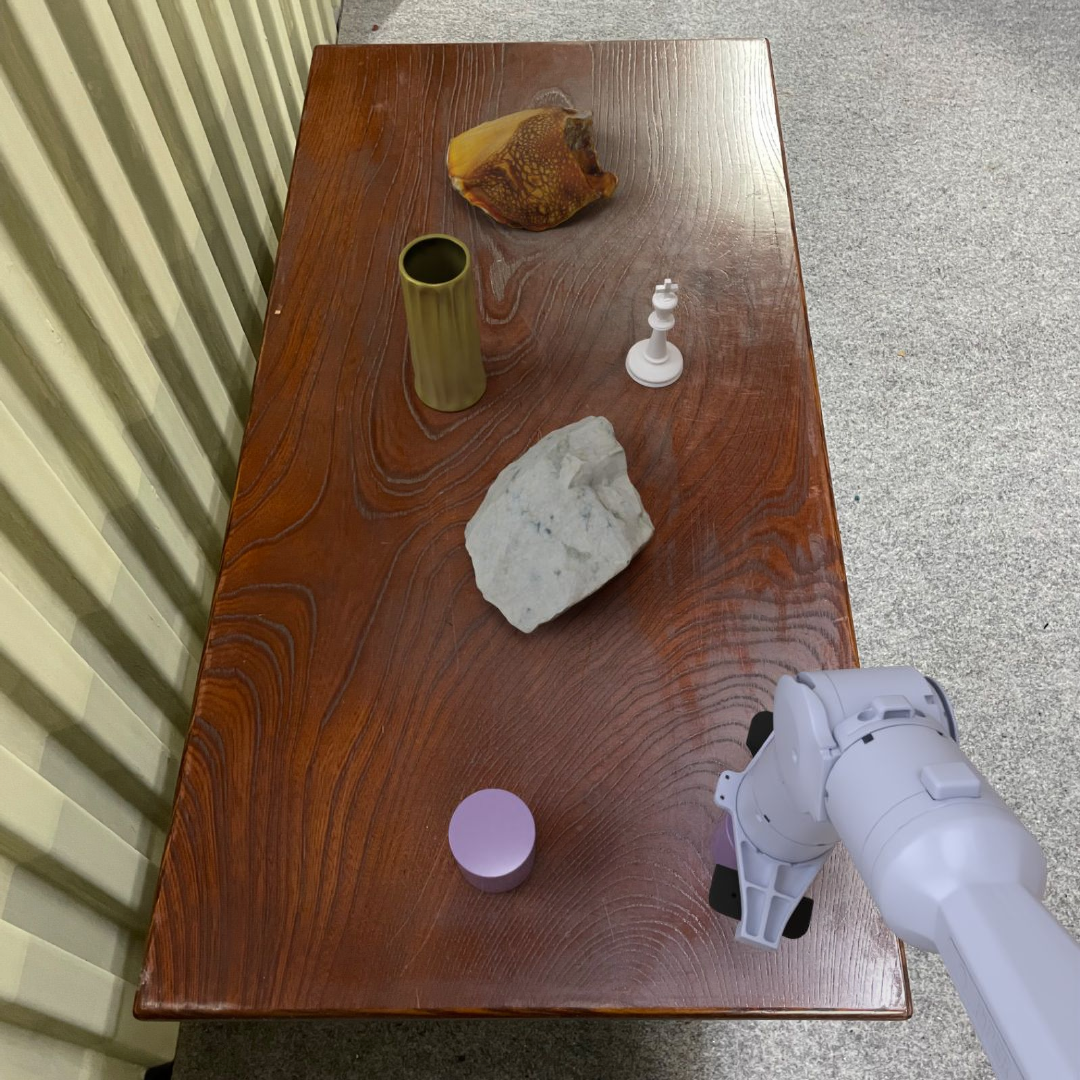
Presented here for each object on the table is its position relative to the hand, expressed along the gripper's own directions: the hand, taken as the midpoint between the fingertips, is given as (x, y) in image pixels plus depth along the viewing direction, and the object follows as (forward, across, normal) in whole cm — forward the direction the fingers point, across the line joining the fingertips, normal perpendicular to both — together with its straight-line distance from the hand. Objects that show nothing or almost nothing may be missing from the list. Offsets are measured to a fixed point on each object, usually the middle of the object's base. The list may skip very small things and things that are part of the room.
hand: (755, 841), depth 60 cm
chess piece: (+2, -37, -17) cm, 40 cm away
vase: (+2, -29, -33) cm, 44 cm away
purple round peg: (+2, 0, 0) cm, 2 cm away
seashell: (+2, -55, -34) cm, 65 cm away
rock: (+2, -18, -20) cm, 26 cm away
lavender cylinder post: (+2, +6, -16) cm, 17 cm away
